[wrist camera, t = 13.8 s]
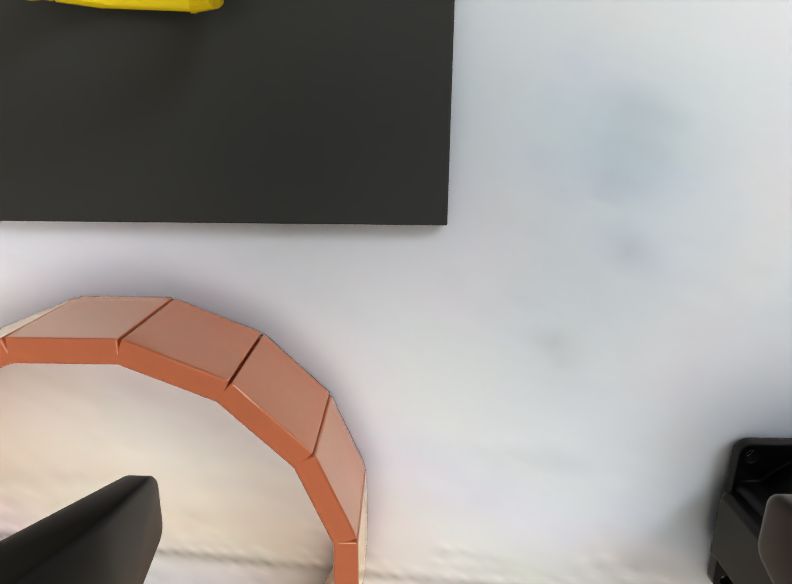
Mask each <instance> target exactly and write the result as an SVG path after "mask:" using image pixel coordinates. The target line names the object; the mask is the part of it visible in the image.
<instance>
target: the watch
mask: <svg viewBox="0 0 792 584" xmlns="http://www.w3.org/2000/svg"><path fill="white" fill-rule="evenodd" d="M29 1H37V0H29ZM47 1H54V0H47ZM55 1H56V2H59V3H66V4H73V5H81V6H88V7H95V8H102V9H104V8H109V9H134V10H160V11H185V12H190V13H198V12H203V11H208V10H213V9H218V8H220V7H221V6H222V5H223V2H224V0H55Z"/></svg>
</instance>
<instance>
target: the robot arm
mask: <svg viewBox="0 0 792 584" xmlns="http://www.w3.org/2000/svg"><path fill="white" fill-rule="evenodd" d="M750 450H753V452H752V453H751V454H750V455H748V456H746V454H747V452H749V451H750ZM161 534H162V515H161V507H160V498H159V489H158V484H157V481H156V479H155V478H153V477H152V476H134V475H129V476H125V477H122V478H121V479H119V480H117V481H115V482H113V483H111V484H109V485H107V486H105V487H103V488H101V489H99V490H98V491H96V492H94V493H92V494H90V495H88V496H86V497H84V498H82V499H80V500H78V501H76V502H75V503H73V504H71V505H69V506H67V507H65V508H63V509H61V510H59V511H57V512H55V513H53V514H52V515H50V516H48V517H46V518H44V519H42V520H40V521H38V522H36V523H34V524H32V525H31V526H29V527H27V528H25V529H23V530H21V531H19V532H17V533H15V534H13V535H11V536H9V537H8V538H6V539H4V540H2V541H0V584H143V583H144V580H145V578H146V575H147V573H148V570H149V567H150V565H151V562H152V560H153V557H154V554H155V552H156V549H157V547H158V544H159V541H160V538H161ZM711 552H712V556H711V561H710V566H709V571H708V577H709V578H710V580H711V582H712V583H713V584H792V438H745V439H742V440H740V441H738V442H737V443H736V444H735V445H734V448H733V450H732V455H731V460H730V465H729V470H728V475H727V480H726V485H725V491H724V494H723V495H722V497H721V499H720V504H719V509H718V514H717V519H716V524H715V529H714V534H713V540H712V545H711ZM723 576H725V577H724V578H722V577H723Z"/></svg>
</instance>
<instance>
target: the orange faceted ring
mask: <svg viewBox="0 0 792 584" xmlns="http://www.w3.org/2000/svg"><path fill="white" fill-rule="evenodd" d="M260 335H261V332H260V331H257V330H255V329H252V328H249V327H247V326H244V325H242V324H239V323H237V322H234V321H232V320H229V319H227V318H224V317H221V316H219V315H216V314H214V313H211V312H209V311H206V310H204V309H201V308H199V307H196V306H194V305H191V304H188V303H186V302H183V301H181V300H178V299H174V300H172V298H171V297H104V296H81V297H79V298H73V299H70V300H68V301H66V302H63V303H61V304H58V305H56V306H53V307H51V308H49V309H46V310H44V311H41V312H39V313H36V314H34V315H32V316H29V317H27V318H24V319H22V320H20V321H17V322H15V323H12V324H10V325H7V326H5V327H3V328H0V368H2V367H5V366H7V365H10V364H12V363H58V364H118V365H121V366H124V367H126V368H129V369H131V370H134V371H137V372H139V373H142V374H145V375H147V376H150V377H153V378H155V379H158V380H161V381H163V382H166V383H169V384H171V385H174V386H177V387H179V388H182V389H184V390H187V391H190V392H192V393H195V394H198V395H200V396H203V397H206V398H208V399H211V400H214V401H216V402H218V403H219V404H220V405H221V406H222V407H223V408H225V409H226V410H227V411H228V412H229V413H230V414H232V415H233V416H234V417H235V418H236V419H237V420H239V421H240V422H241V423H242V424H243V425H245V426H246V427H247V428H248V429H249V430H250V431H252V432H253V433H254V434H255V435H256V436H257V437H259V438H260V439H261V440H262V441H263V442H264V443H266V444H267V445H268V446H269V447H270V448H272V449H273V450H274V451H275V452H276V453H277V454H279V455H280V456H281V457H282V458H283V459H284V460H286V461H287V462H288V463H289V464H290V465H291V466H293V467H294V469H295V471H296V473H297V474H298V476H299V478H300V480H301V482H302V484H303V486H304V488H305V490H306V492H307V494H308V496H309V498H310V499H311V501H312V503H313V505H314V507H315V509H316V511H317V513H318V515H319V517H320V519H321V521H322V523H323V524H324V526H325V528H326V530H327V532H328V534H329V536H330V538H331V540H332V542H333V560H334V565H333V567H332V569H331V571H330V573H329V575H328V577H327V579H326V581H325V584H363V576H364V565H365V554H366V543H367V485H366V469H365V464H364V462H363V460H362V458H361V456H360V454H359V452H358V450H357V448H356V446H355V444H354V442H353V439H352V437H351V435H350V433H349V431H348V429H347V427H346V425H345V423H344V421H343V419H342V416H341V414H340V412H339V410H338V408H337V406H336V404H335V402H334V400H333V398H332V397H331V396H329V392H328V391H327V390H326V389H325V388H324V387H323V386H322V385H321V384H319V383H318V382H317V381H316V380H315V379H314V378H313V377H312V376H311V375H310V374H308V373H307V372H306V371H305V370H304V369H303V368H302V367H301V366H300V365H298V364H297V363H296V362H295V361H294V360H293V359H292V358H291V357H290V356H288V355H287V354H286V353H285V352H284V351H283V350H282V349H281V348H280V347H278V346H277V345H276V344H275V343H274V342H273V341H272V340H271V339H270V338H268V337H267V336H266V335H265V334H264V335H262V336H261V337H260ZM328 396H329V397H328Z"/></svg>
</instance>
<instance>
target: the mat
mask: <svg viewBox="0 0 792 584" xmlns="http://www.w3.org/2000/svg"><path fill="white" fill-rule="evenodd" d="M454 2H455V0H224V2H223V5H222V6H221V7H220V8H218V9H213V10H208V11H203V12H198V13H190V12H185V11H160V10H134V9H109V8H104V9H102V8H95V7H88V6H81V5H73V4H66V3H59V2H56V1H55V0H54V1H47V0H37V1H29V0H0V221H83V222H180V223H277V224H374V225H447V213H448V183H449V152H450V122H451V92H452V62H453V32H454Z"/></svg>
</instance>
